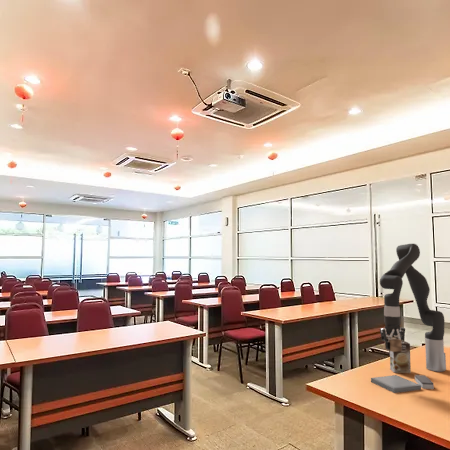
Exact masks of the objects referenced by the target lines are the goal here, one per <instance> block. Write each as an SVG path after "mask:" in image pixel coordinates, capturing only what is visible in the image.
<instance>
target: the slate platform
mask: <svg viewBox="0 0 450 450" xmlns="http://www.w3.org/2000/svg"><path fill="white" fill-rule="evenodd" d="M370 382H371V383H372V384H375V385H377V386H379V387H380V388H382V389H385V390H387V391H389V392H391V393H393V394H396V393H397V394H398V393H404V392H405V393H406V392H413V391H421V390H422V387H421V385H419V384H418V383H417V382H414V381H411V380H409V379H407V378H404V377H402V376H400V375H397V374H395V375H394V374H393V375H386V376H384V375H383V376H376V377H371V378H370Z"/></svg>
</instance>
